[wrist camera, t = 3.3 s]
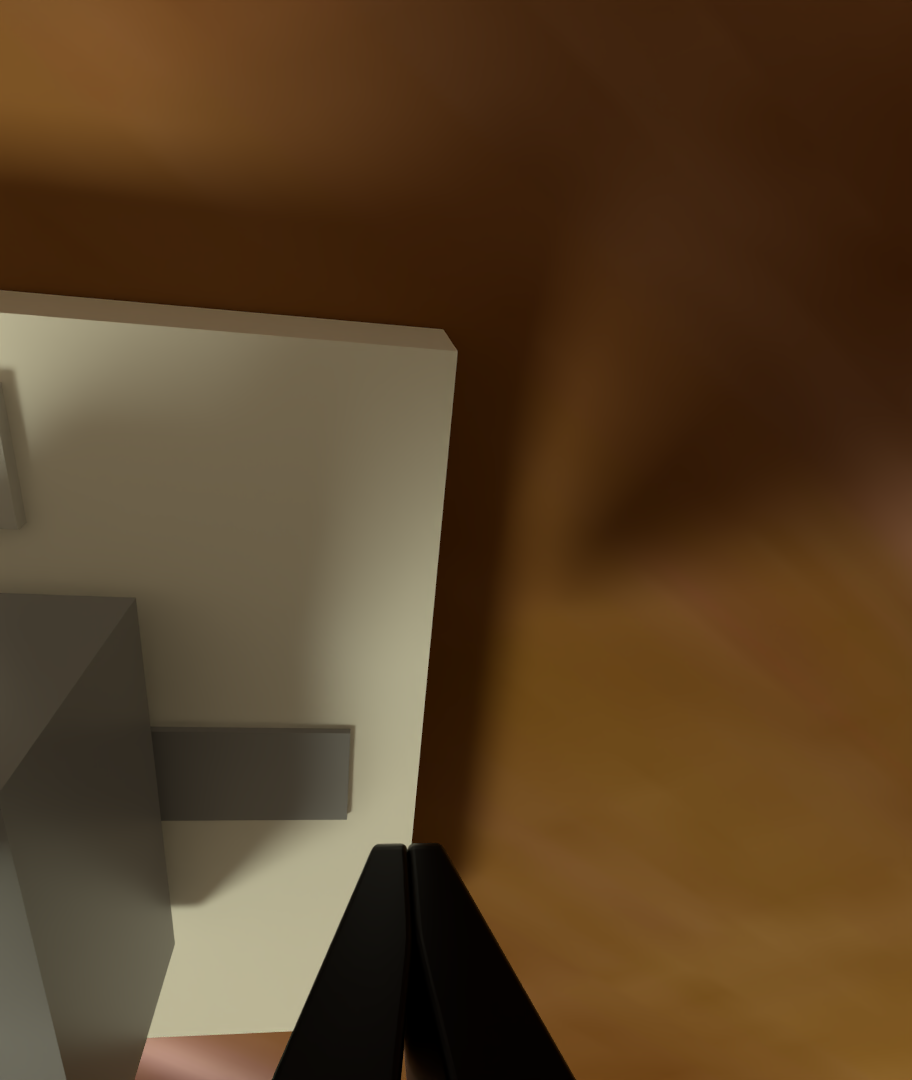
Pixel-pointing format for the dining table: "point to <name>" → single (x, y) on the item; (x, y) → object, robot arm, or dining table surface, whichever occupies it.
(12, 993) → the fader cap
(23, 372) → the dimmer console
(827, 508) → the dining table surface
